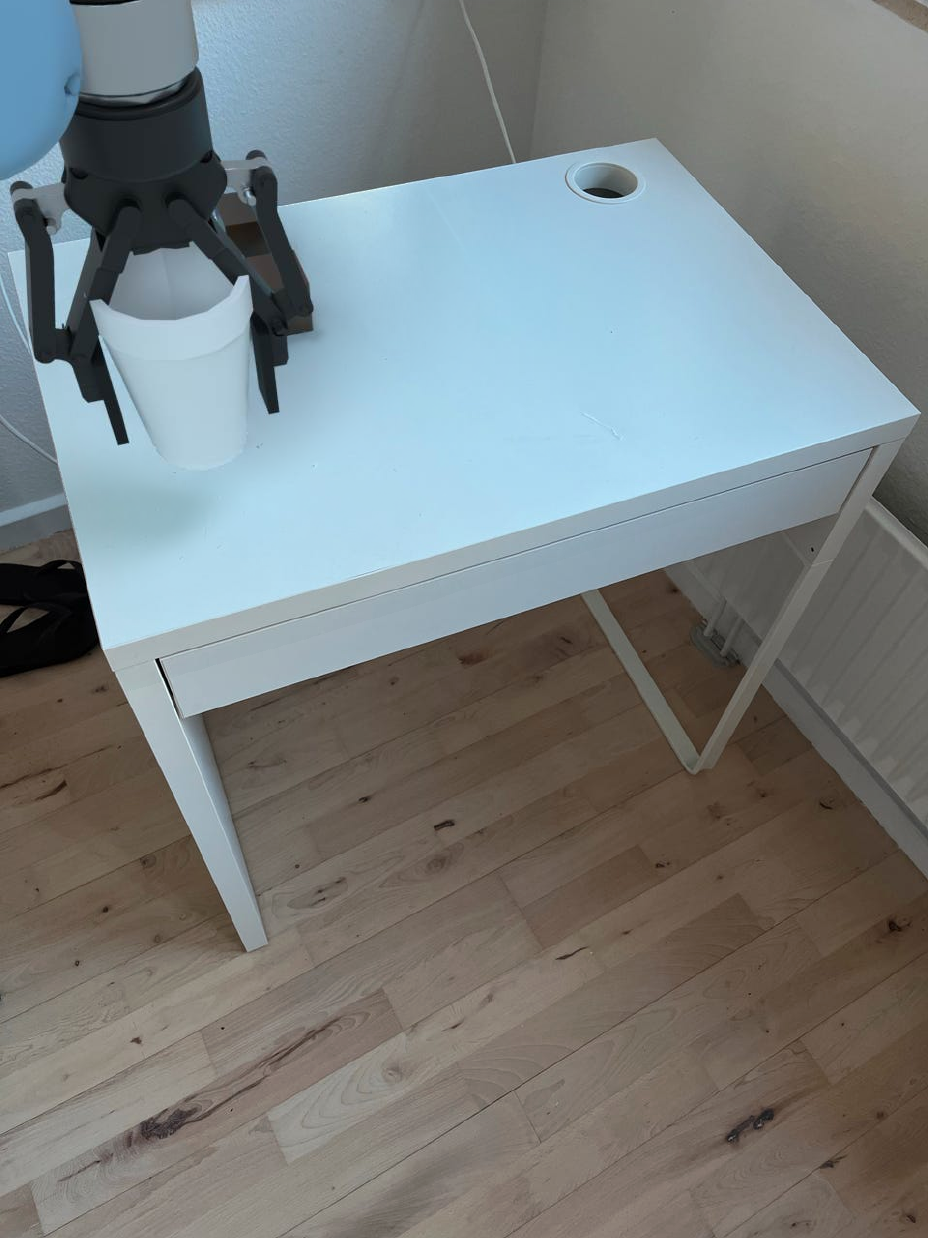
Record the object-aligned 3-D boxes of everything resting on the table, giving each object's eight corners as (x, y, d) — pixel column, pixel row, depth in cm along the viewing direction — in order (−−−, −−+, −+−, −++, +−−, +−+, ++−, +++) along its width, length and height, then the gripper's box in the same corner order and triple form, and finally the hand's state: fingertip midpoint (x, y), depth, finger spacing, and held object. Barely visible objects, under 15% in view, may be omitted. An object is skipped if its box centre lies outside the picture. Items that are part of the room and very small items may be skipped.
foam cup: (157, 504, 62) (110, 345, 51) (112, 415, 66) (60, 251, 55) (291, 459, 65) (273, 300, 54) (239, 377, 69) (214, 214, 58)
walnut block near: (259, 340, 83) (252, 293, 79) (245, 306, 86) (237, 258, 82) (313, 330, 85) (309, 282, 81) (298, 296, 87) (293, 248, 83)
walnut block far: (232, 273, 88) (224, 225, 84) (220, 243, 91) (212, 195, 87) (284, 264, 90) (279, 217, 86) (271, 234, 92) (265, 186, 88)
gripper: (320, 12, 50) (336, 349, 68) (-133, 54, 44) (18, 410, 63) (363, 81, 46) (368, 419, 65) (-126, 136, 40) (32, 490, 59)
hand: (196, 414), depth 64 cm, fingers closed on foam cup, 9 cm apart
